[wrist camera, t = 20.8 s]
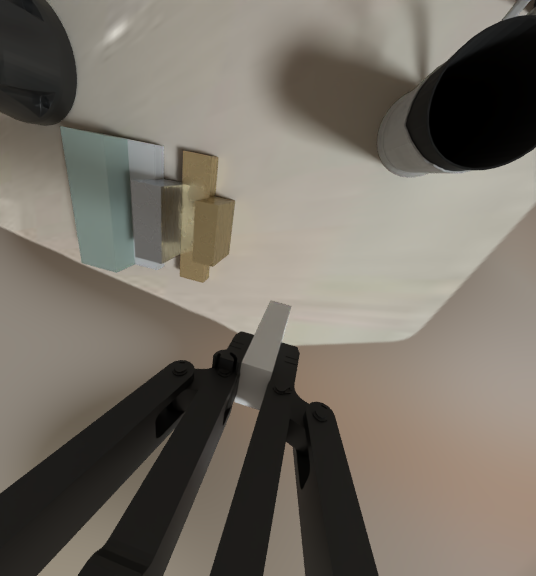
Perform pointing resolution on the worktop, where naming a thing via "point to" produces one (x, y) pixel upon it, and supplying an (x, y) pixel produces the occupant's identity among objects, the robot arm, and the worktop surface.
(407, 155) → the grey mug
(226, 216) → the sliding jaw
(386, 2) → the worktop surface
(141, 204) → the steel block
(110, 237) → the block
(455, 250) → the worktop surface
